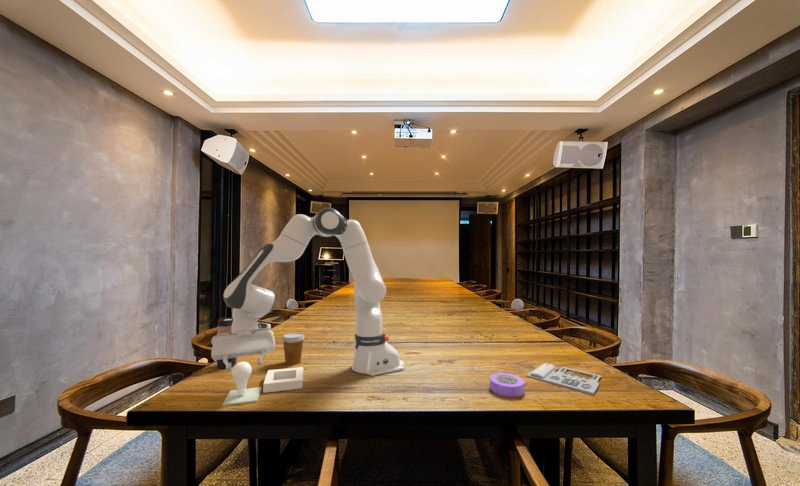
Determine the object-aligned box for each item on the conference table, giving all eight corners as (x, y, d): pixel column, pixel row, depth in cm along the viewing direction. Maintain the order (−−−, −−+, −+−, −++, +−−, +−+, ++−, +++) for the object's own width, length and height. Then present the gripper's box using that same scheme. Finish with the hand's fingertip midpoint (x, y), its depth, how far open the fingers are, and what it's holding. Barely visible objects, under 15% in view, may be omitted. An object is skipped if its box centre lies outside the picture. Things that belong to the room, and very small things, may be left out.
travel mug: (240, 364, 134) (241, 317, 134) (224, 370, 127) (225, 321, 127) (228, 361, 137) (230, 316, 138) (212, 367, 130) (213, 319, 131)
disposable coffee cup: (308, 361, 138) (309, 334, 138) (291, 367, 130) (291, 339, 130) (294, 357, 143) (295, 331, 144) (276, 363, 135) (277, 335, 135)
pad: (261, 388, 110) (261, 387, 110) (257, 401, 100) (257, 400, 100) (230, 392, 107) (230, 390, 107) (222, 406, 98) (222, 404, 98)
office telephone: (525, 371, 123) (543, 359, 137) (525, 378, 123) (543, 365, 137) (593, 388, 107) (604, 372, 121) (593, 396, 107) (605, 379, 121)
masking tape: (521, 400, 103) (521, 389, 103) (486, 392, 109) (486, 381, 109) (526, 387, 113) (526, 376, 113) (493, 380, 119) (493, 370, 119)
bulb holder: (303, 374, 123) (303, 366, 123) (302, 388, 111) (302, 379, 111) (267, 378, 119) (268, 370, 119) (263, 392, 107) (263, 384, 107)
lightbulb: (242, 400, 100) (242, 365, 100) (227, 398, 101) (226, 364, 102) (255, 391, 106) (255, 359, 106) (241, 390, 107) (240, 358, 108)
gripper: (211, 329, 108) (208, 367, 99) (274, 323, 117) (276, 357, 108) (212, 339, 112) (209, 376, 103) (273, 332, 121) (275, 366, 112)
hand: (244, 366), depth 105 cm, fingers open, 8 cm apart
